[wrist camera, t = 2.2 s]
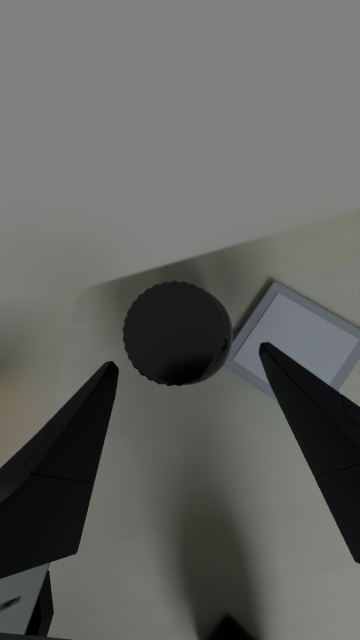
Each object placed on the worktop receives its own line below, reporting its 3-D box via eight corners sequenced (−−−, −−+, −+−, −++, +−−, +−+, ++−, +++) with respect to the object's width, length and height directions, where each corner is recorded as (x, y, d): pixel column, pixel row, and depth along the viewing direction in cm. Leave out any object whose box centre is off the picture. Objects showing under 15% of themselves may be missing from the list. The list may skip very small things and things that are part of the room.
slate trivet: (365, 337, 16) (375, 337, 15) (307, 422, 16) (314, 427, 15) (271, 283, 18) (275, 280, 17) (218, 360, 18) (220, 361, 17)
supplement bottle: (228, 322, 18) (284, 299, 6) (202, 374, 18) (208, 450, 6) (178, 298, 19) (144, 238, 7) (153, 346, 19) (75, 364, 7)
